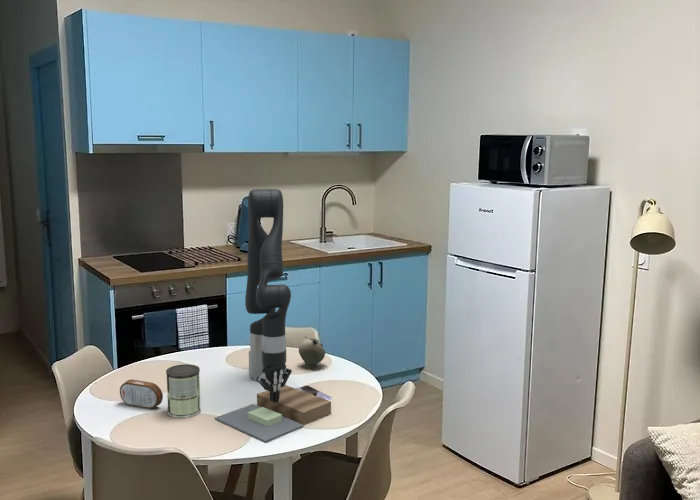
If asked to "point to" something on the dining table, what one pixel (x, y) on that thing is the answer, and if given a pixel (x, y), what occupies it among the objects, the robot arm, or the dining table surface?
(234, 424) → the mat
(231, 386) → the dining table surface
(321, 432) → the dining table surface
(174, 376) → the coffee can
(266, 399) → the walnut stand
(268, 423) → the sponge
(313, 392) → the mobile phone
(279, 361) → the robot arm
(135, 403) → the tin
